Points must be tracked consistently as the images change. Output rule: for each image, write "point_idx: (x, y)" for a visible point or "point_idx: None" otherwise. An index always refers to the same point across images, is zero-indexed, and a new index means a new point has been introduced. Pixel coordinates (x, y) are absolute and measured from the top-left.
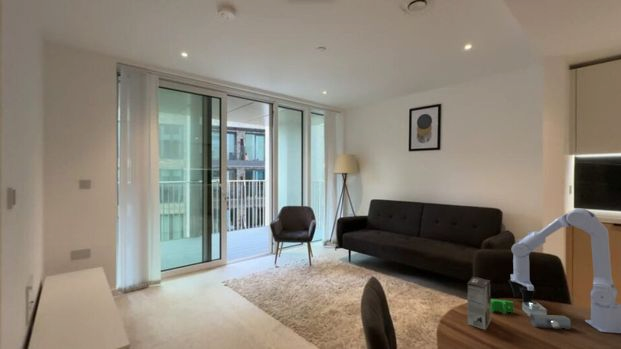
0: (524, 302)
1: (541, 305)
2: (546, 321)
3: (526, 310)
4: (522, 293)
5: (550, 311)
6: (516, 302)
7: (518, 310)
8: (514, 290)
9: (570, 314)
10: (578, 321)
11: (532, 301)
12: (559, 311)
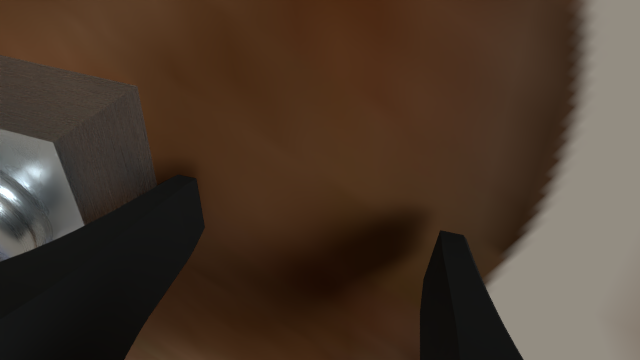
0: (47, 161)
1: None
2: None
3: (4, 80)
4: (2, 278)
5: (182, 295)
6: (363, 164)
7: (89, 14)
8: (450, 327)
9: (171, 353)
10: None
11: (21, 249)
12: (201, 339)
